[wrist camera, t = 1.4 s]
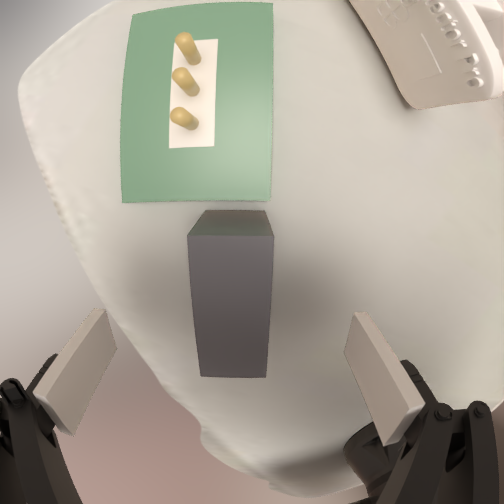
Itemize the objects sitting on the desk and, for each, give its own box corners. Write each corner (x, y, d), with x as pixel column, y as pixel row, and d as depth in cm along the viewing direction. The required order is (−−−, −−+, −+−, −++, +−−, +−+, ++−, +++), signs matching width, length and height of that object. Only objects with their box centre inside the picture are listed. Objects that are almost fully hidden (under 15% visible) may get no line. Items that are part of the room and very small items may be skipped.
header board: (268, 197, 20) (276, 211, 15) (129, 199, 20) (97, 214, 15) (271, 11, 15) (278, -25, 10) (138, 21, 15) (113, -7, 10)
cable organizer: (469, 96, 17) (553, 90, 6) (399, 114, 18) (501, 100, 7) (403, -24, 12) (459, -69, 1) (320, -23, 14) (361, -98, 3)
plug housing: (260, 322, 24) (265, 377, 17) (210, 321, 24) (200, 376, 17) (264, 210, 21) (274, 236, 14) (205, 210, 21) (187, 235, 14)
